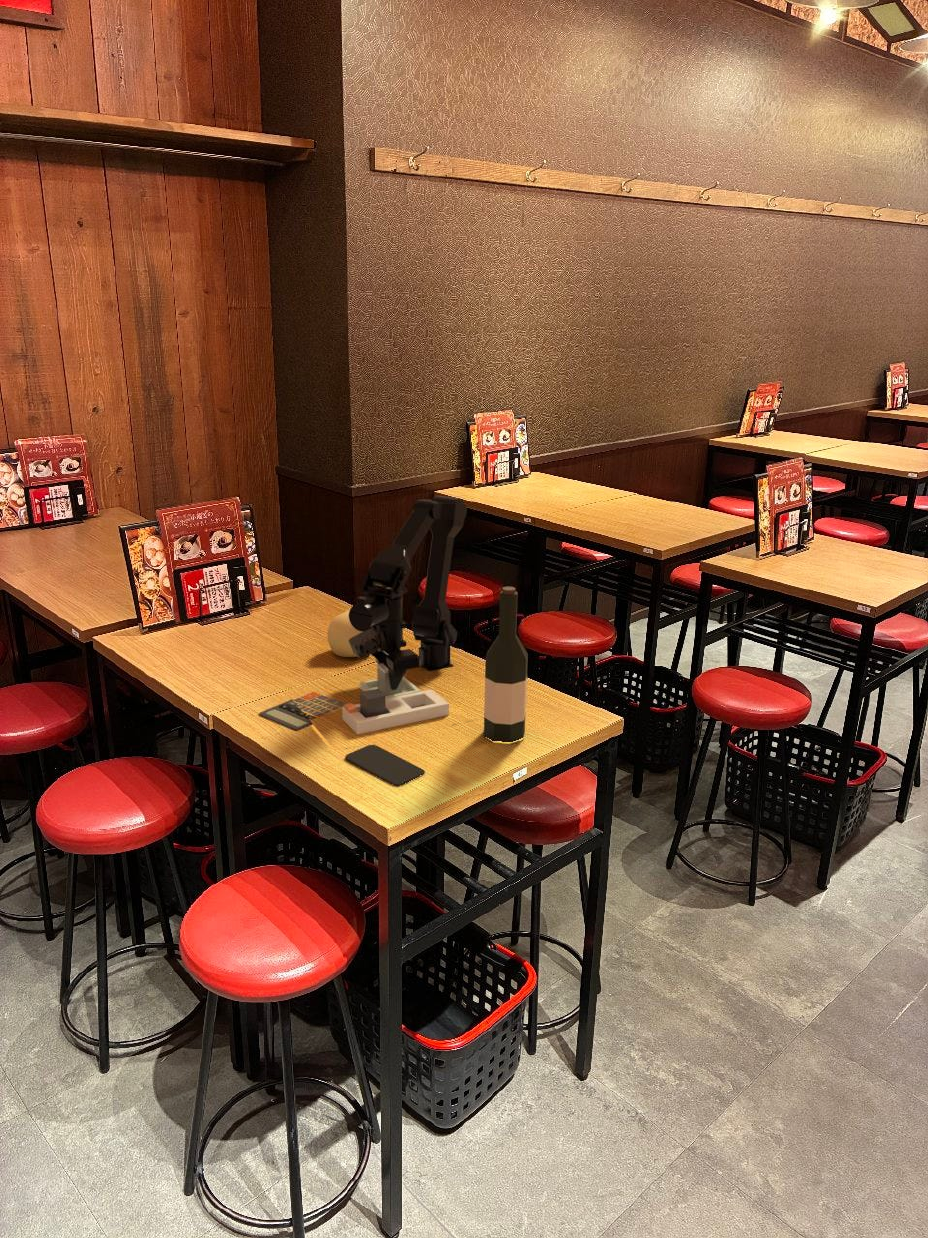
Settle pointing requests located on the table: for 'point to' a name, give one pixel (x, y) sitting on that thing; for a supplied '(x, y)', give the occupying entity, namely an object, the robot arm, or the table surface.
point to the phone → (384, 765)
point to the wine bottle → (506, 676)
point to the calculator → (299, 711)
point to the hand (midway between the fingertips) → (389, 686)
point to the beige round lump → (341, 635)
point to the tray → (406, 689)
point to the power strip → (392, 710)
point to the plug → (386, 681)
